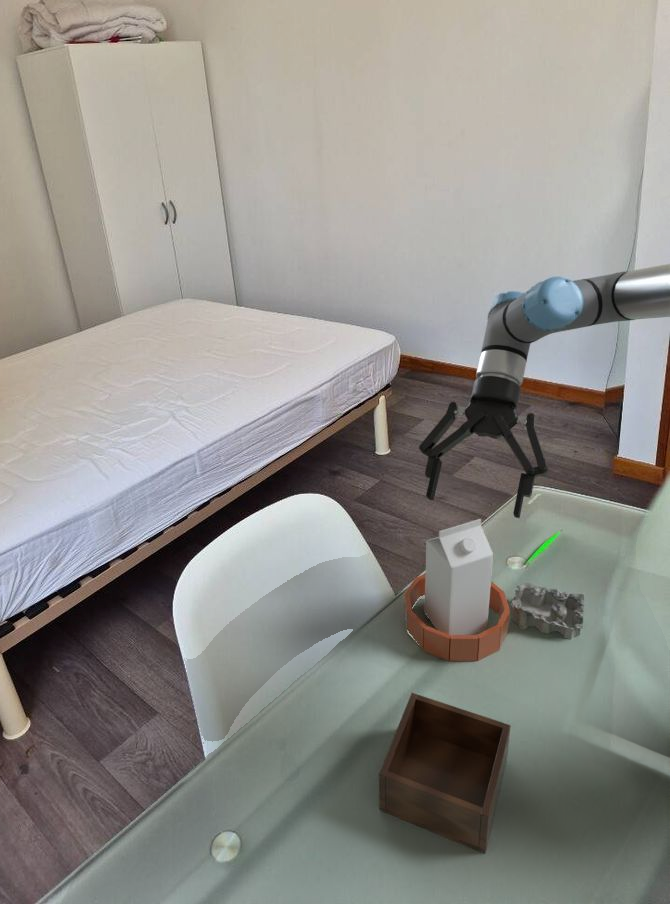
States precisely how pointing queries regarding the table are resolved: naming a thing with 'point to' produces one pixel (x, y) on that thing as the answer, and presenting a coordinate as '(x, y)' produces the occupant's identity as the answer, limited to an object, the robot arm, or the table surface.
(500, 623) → the orange faceted ring
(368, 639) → the table surface
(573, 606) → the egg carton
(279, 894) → the table surface
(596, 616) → the table surface
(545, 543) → the leaf
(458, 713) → the box
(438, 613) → the milk carton
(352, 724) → the table surface
